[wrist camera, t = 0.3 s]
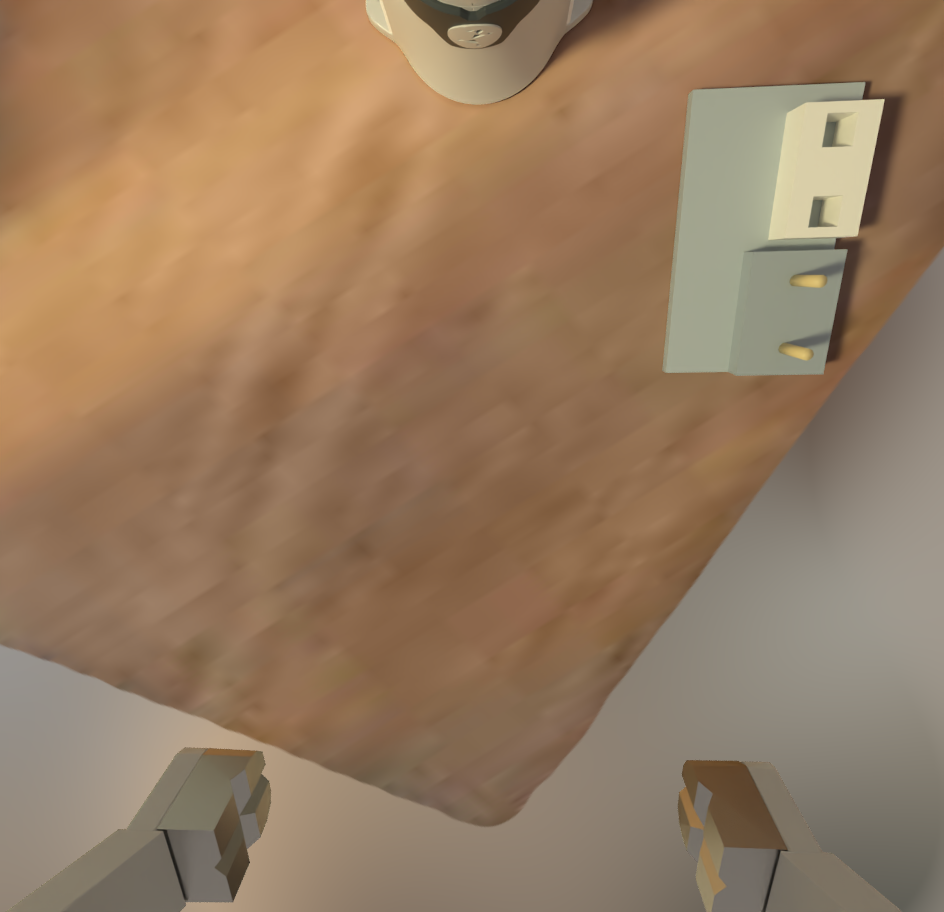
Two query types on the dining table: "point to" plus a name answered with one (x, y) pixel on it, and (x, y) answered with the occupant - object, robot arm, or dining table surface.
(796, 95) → the grey-green stepped plate
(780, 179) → the two-hole cream block
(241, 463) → the dining table surface
